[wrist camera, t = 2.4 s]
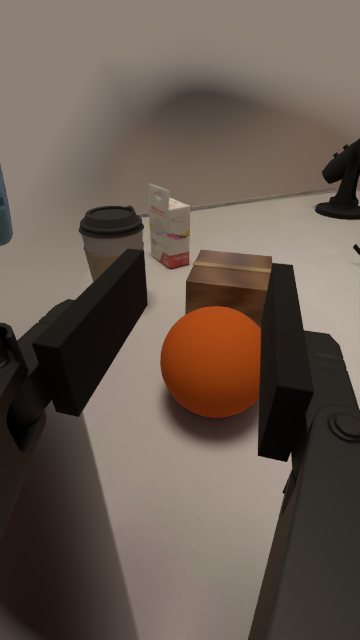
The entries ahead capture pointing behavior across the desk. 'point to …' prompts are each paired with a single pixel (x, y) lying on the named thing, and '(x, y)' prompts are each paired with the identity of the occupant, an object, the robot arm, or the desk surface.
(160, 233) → the ink cartridge box
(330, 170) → the microphone
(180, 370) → the ball
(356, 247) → the sunglasses
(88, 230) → the coffee cup
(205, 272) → the box
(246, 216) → the desk surface
